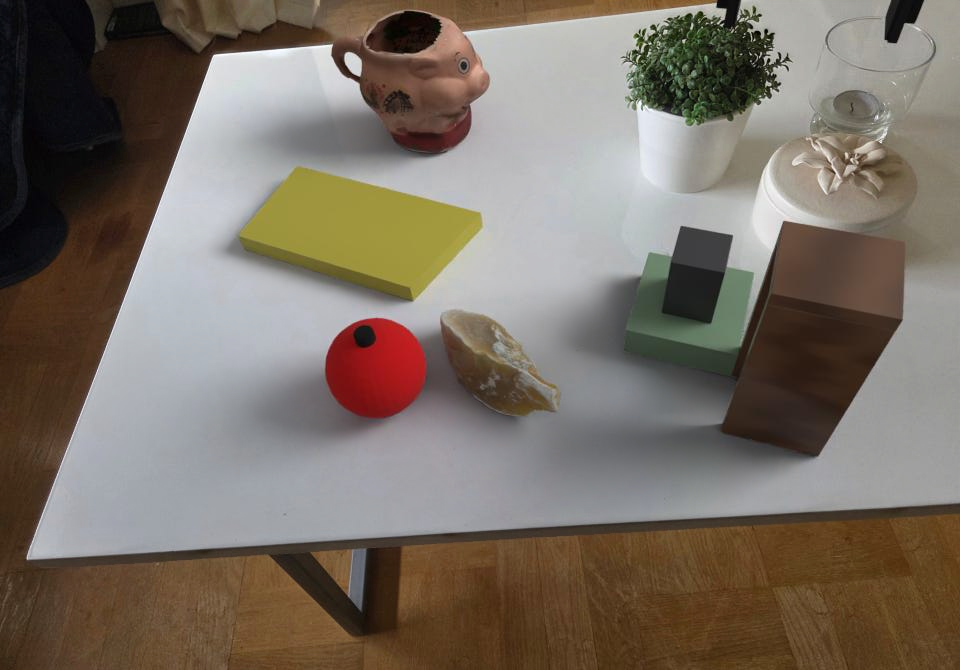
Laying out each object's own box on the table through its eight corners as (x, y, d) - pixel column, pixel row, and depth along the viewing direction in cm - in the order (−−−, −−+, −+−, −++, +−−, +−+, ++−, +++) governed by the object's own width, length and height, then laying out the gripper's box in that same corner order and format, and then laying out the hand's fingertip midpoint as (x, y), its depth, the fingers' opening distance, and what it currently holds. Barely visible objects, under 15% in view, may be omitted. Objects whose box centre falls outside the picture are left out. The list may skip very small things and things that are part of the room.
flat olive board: (244, 249, 82) (434, 307, 75) (237, 235, 80) (431, 294, 73) (302, 179, 88) (482, 227, 81) (297, 165, 86) (481, 212, 79)
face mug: (328, 153, 91) (296, 52, 80) (364, 93, 98) (339, -7, 86) (482, 172, 86) (470, 67, 75) (508, 108, 93) (501, 4, 82)
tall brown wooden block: (825, 389, 65) (906, 241, 50) (818, 457, 61) (903, 319, 46) (732, 368, 67) (783, 220, 52) (720, 432, 63) (770, 293, 48)
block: (719, 287, 68) (733, 234, 63) (711, 323, 66) (725, 272, 60) (671, 277, 70) (680, 225, 64) (661, 313, 67) (670, 262, 62)
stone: (455, 278, 68) (576, 363, 60) (477, 310, 73) (591, 392, 65) (404, 334, 67) (520, 429, 59) (430, 363, 72) (540, 453, 65)
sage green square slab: (746, 295, 72) (754, 272, 69) (731, 377, 67) (738, 355, 64) (645, 274, 75) (649, 251, 72) (622, 351, 69) (625, 329, 67)
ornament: (444, 362, 70) (429, 297, 62) (417, 444, 65) (397, 384, 57) (357, 349, 72) (332, 283, 64) (324, 427, 67) (292, 367, 59)
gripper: (697, -296, 34) (661, 44, 47) (1143, -310, 29) (961, 72, 43) (721, -340, 38) (682, -16, 51) (1115, -359, 33) (957, 4, 47)
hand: (808, 24), depth 47 cm, fingers open, 9 cm apart
